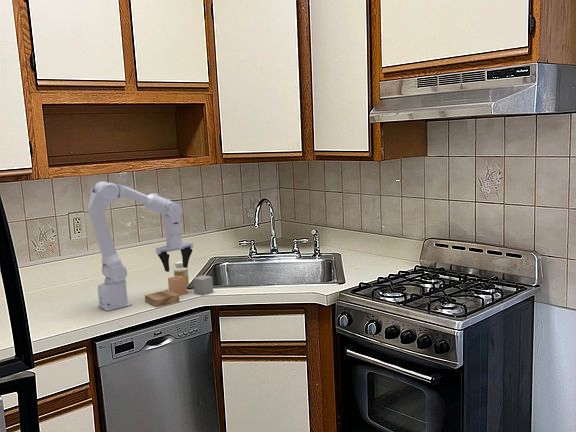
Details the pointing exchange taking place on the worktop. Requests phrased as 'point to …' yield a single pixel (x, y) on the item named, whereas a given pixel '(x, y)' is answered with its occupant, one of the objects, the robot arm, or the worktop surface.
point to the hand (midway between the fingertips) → (176, 269)
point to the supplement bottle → (181, 271)
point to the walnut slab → (162, 298)
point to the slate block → (203, 285)
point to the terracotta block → (177, 284)
